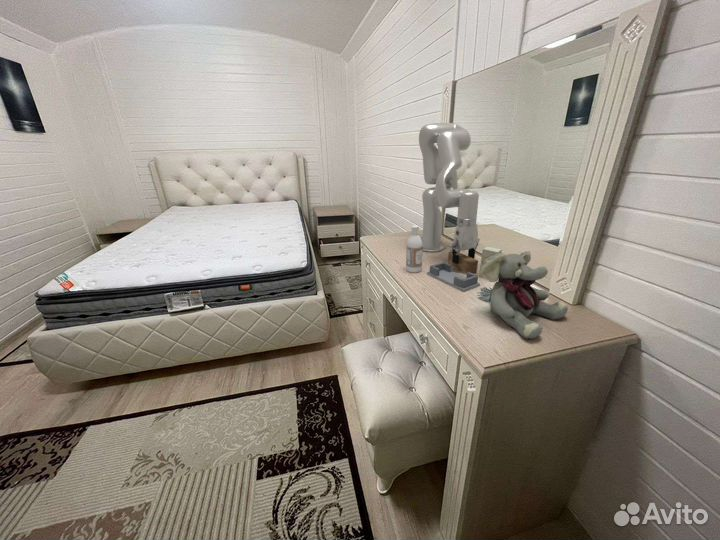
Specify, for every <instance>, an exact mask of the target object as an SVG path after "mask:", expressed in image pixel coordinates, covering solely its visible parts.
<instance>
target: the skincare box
mask: <svg viewBox="0 0 720 540" xmlns="http://www.w3.org/2000/svg"><path fill="white" fill-rule="evenodd" d="M502 251H503V250H502V249H501V248H497V247H491V246H485V247H484V248H483V249H482V253H481V259H480V265H479V272H478V277H479V278H480V277H481V278H483V279H485V278H484V277H483V276H482V275H481V273H480V271H481V268H482V265H483V263H484V262H485V260H486V259H487V258H489V257H491V256H493V255H495V254H498V253H502Z"/></svg>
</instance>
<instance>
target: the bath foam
mask: <svg viewBox="0 0 720 540" xmlns="http://www.w3.org/2000/svg"><path fill="white" fill-rule="evenodd" d="M419 228H420V227H419V225H411V235H410V236H409V238H408V239H407V241H406V246H405V247H406V251H405V252H406V255H405V269H406V271H407V272H408V273H420V272H421V271H422V269H423V252H424V251H423V243H422V240H421V236H420V234H419V230H420V229H419Z"/></svg>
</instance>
